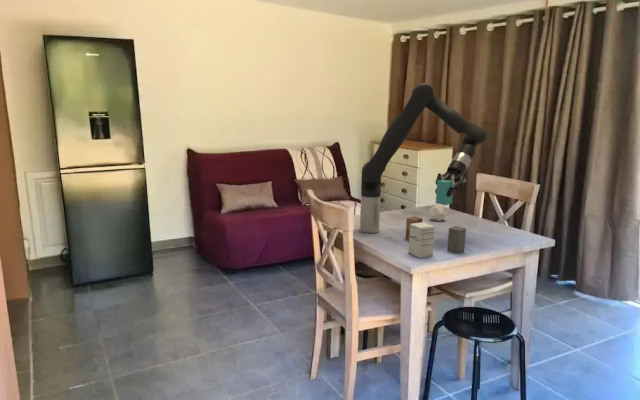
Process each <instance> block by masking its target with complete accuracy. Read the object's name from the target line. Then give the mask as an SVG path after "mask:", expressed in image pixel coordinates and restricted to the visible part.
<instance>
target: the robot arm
mask: <svg viewBox="0 0 640 400" xmlns="http://www.w3.org/2000/svg"><path fill="white" fill-rule="evenodd" d="M425 108H426V109H427V110H429V111H430V112H432V113H433V114H434V115H435V116H437V117H438V118H439V119H440V120H441V121H442V122H443V123H445V125H447V126H448V127H449V128H450V129H452V130H453V131H454V132H456V133H457V134H465V136H464V137H463V139H462V141H461V145H460V147H459V149H458V150H457V152H456V154H455V155H454V157H453V158H452V160H451V162H450V163H449V165H448V166H447V169H446V172H445V173H443V174H441V173H440V172H439V173H437V176H436V180H435V183H434V184H435V186H437V181H439V180H449V181H452V184H451V188H449V190H448V192H447V193H446V195H447V197H450V196H451V195H452V193H453V194H454V192H455V191H460V190H461V188H462V187H463V186H464V185H465V184H466V183H467V178H466V177H465V176H464V175H465V174H466V172H467V170H468V168H469V166H470V164H471V162H472V160H473V158H474V156H475V155H476V147H478V145H480V144H482V143H483V142H486V140H487V133H486V131H485V130H484V128H482V127H481V126H479V125H478V124H475V123H473V122H471V121H469V120H468V119H466V118H465V117H464V116H463V115H461V114H460V113H459V112H458V111H456V110H455V109H453V108H452V107H450V106H449V105H447V104H446V103H444V102H443V101H442V100H441V99H440V98H439V97H438V96H437V95H436V94H435V93H434V88H433V87H432V85H430V84H429V83H425V82H423V83H422V82H421V83H418V84H417V85H415V86H414V87H413V89H412V90H411V95H410V97H409V99H408V101H407V103H406V105H405V107H404V108H403V109H402V110H401V112H399V113H398V114H397V116H396V117H395V118H394V120H393V121H392V122H391V124H390V125H389V126H388V128H387V130H386V131H385V133H384V135H383V136H382V138H381V141H380V143H379V144H378V147H377V150H376V151H375V153H374V154H373V156H372V157H371V158H370V160H369V161H368V162H366V163H364V164H363V166H362V167H361V184H360V185H361V186H360V193H361V195H360V210H359V232H360V233H366V234H374V233H378V232H379V231H380V219H381V217H380V216H381V198H382V197H381V193H382V175H383V173H384V171H385V169H386V168H387V166H388V163H389V162H390V160H391V159H392V158H393V156H394V155H395V154H396V153H397V151H398V150H399V148H400V147H402V145H403V144H404V142H405V141H406V139H407V137H408V136H409V134H410V132H411V131H412V129H413V127H414V126H415V124H416V121H417V120H418V118H419V116H420V114H422V112H423V111H424V110H425ZM434 191H435V192H434V193H435V194H436V192H437V187H436V189H435V190H434Z"/></svg>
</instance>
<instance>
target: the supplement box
mask: <svg viewBox="0 0 640 400" xmlns="http://www.w3.org/2000/svg"><path fill="white" fill-rule="evenodd" d="M435 230H436V228H435V226H434V225H431V224H429V223H426V222H424V221H422V222H421V223H413V224H410V235H409V240H408V250H407V251H408V252H407V253H408V254H411V255H412V256H415V257H416V258H418V259H420V258H427V257H432V256H433V255H434V242H435Z"/></svg>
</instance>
